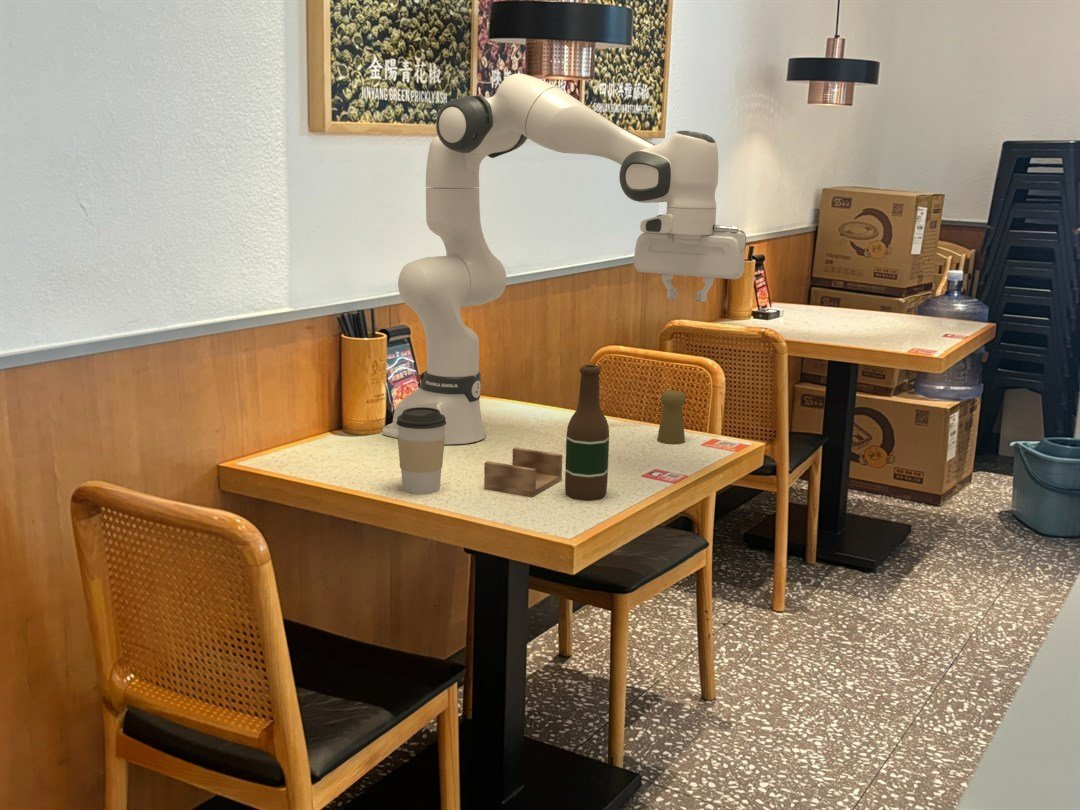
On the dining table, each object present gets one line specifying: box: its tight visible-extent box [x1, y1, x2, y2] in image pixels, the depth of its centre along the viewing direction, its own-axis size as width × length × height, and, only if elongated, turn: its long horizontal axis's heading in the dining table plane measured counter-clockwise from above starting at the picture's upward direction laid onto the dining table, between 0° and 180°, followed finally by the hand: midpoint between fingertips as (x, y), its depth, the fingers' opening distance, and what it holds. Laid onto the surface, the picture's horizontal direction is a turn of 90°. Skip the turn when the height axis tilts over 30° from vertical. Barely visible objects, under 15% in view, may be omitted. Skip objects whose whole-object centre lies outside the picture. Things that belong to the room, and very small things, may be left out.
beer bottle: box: [564, 364, 610, 502], centre depth 208 cm, size 8×8×24 cm
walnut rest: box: [483, 447, 563, 498], centre depth 215 cm, size 10×12×5 cm
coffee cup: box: [396, 407, 446, 495], centre depth 210 cm, size 9×9×15 cm
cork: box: [656, 389, 686, 445], centre depth 248 cm, size 6×6×11 cm
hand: (686, 300), depth 210 cm, fingers open, 4 cm apart
